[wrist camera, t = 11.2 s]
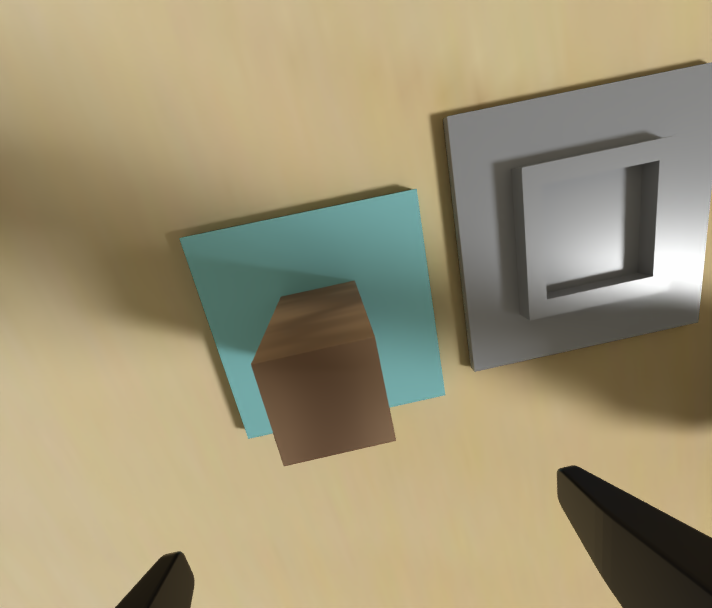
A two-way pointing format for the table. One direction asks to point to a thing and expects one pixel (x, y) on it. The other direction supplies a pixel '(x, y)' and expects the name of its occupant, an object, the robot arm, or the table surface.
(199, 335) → the table surface
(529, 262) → the holder
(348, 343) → the walnut block
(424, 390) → the mat
